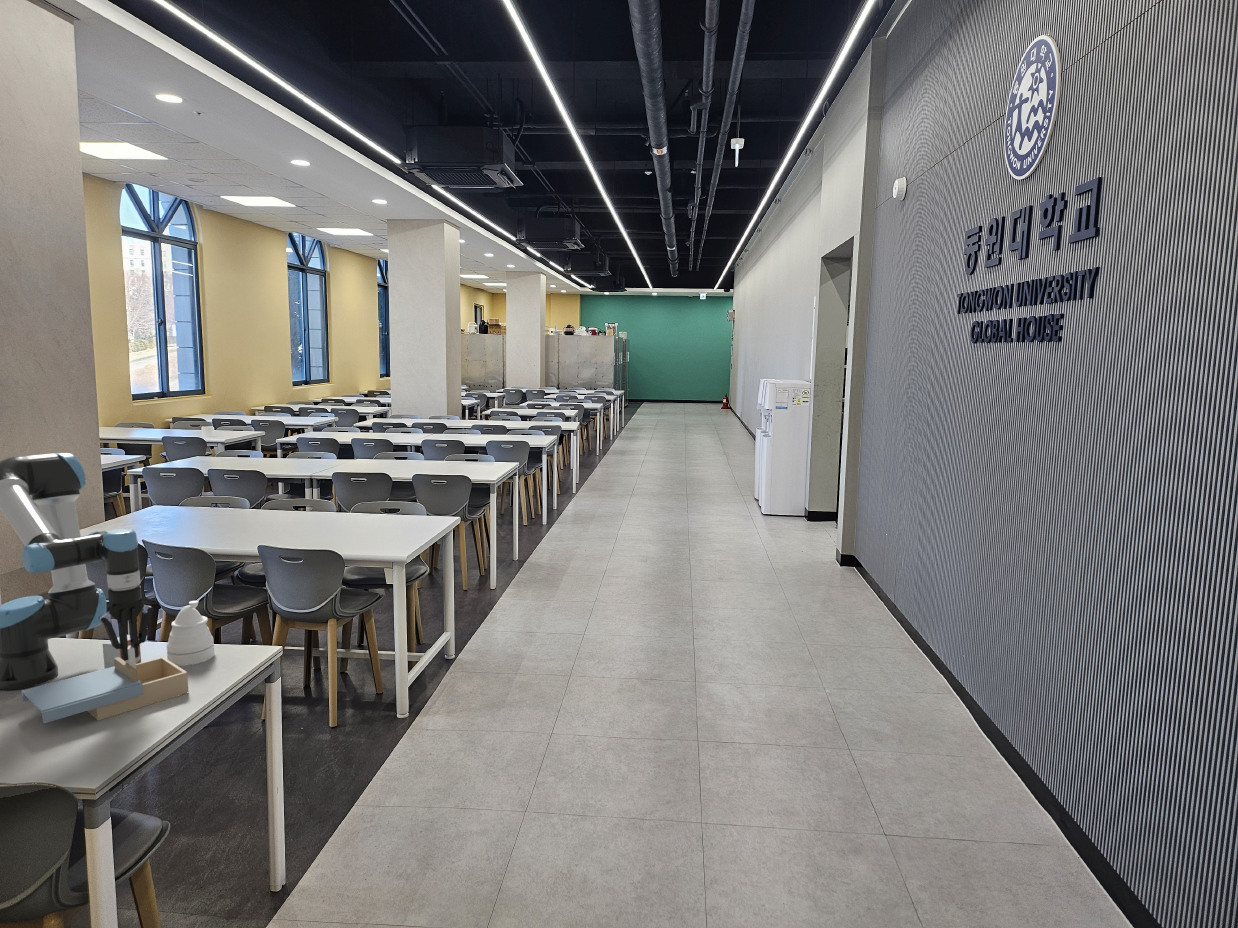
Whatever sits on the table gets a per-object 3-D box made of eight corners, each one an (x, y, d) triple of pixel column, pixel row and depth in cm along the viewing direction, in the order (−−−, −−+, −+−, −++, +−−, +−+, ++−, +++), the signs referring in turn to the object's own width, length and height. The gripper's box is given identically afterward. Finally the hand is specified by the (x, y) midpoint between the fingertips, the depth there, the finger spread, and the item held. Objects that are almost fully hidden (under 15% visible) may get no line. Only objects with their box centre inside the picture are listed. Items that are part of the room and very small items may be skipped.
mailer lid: (22, 700, 202) (20, 678, 201) (118, 674, 219) (116, 654, 218) (43, 723, 190) (41, 699, 189) (143, 694, 207) (141, 672, 206)
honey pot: (222, 649, 248) (219, 595, 246) (200, 665, 235) (196, 608, 233) (182, 649, 248) (178, 595, 246) (158, 665, 236) (154, 608, 233)
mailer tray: (76, 701, 211) (74, 680, 210) (164, 676, 228) (163, 656, 227) (97, 720, 200) (95, 698, 199) (188, 692, 217) (187, 672, 216)
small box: (121, 679, 225) (118, 644, 224) (104, 678, 226) (101, 643, 225) (142, 668, 233) (139, 634, 232) (126, 667, 234) (123, 633, 232)
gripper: (101, 595, 202) (109, 681, 205) (156, 584, 212) (162, 666, 215) (91, 589, 207) (99, 673, 210) (145, 578, 217) (152, 659, 220)
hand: (131, 669), depth 213 cm, fingers closed
